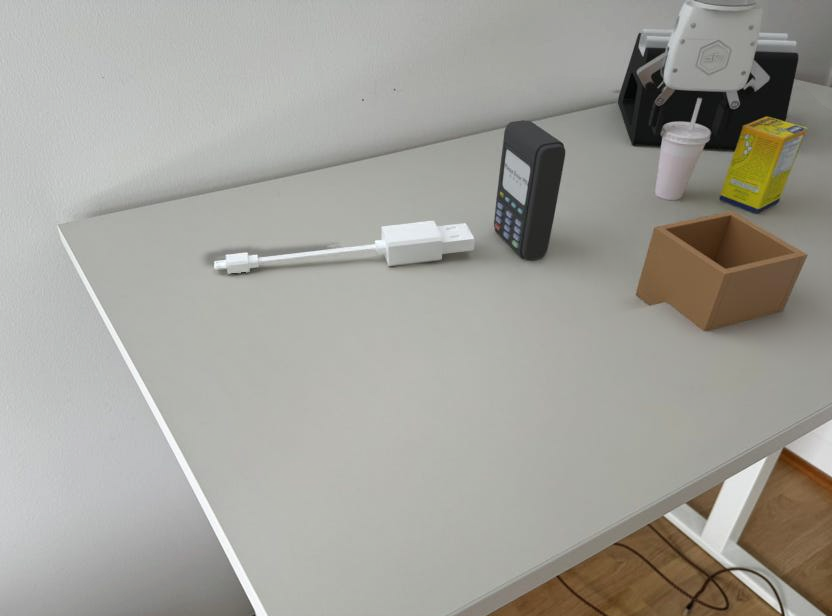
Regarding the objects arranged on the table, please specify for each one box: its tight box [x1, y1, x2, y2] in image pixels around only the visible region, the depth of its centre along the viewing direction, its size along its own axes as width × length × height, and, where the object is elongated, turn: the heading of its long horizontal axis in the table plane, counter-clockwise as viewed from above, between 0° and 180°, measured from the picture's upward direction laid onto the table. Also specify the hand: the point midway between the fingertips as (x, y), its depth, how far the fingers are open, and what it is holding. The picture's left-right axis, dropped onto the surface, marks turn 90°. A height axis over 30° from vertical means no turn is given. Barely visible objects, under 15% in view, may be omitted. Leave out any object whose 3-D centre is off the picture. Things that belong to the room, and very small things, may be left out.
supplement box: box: [718, 117, 808, 215], centre depth 98 cm, size 6×6×11 cm
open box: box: [635, 210, 808, 332], centre depth 78 cm, size 11×11×9 cm
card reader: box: [493, 119, 566, 261], centre depth 88 cm, size 9×4×15 cm, turn 18°
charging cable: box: [213, 220, 475, 275], centre depth 89 cm, size 5×32×3 cm, turn 98°
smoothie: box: [654, 98, 711, 201], centre depth 99 cm, size 6×6×14 cm
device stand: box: [617, 28, 799, 151], centre depth 120 cm, size 22×22×15 cm
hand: (685, 132), depth 98 cm, fingers open, 7 cm apart
